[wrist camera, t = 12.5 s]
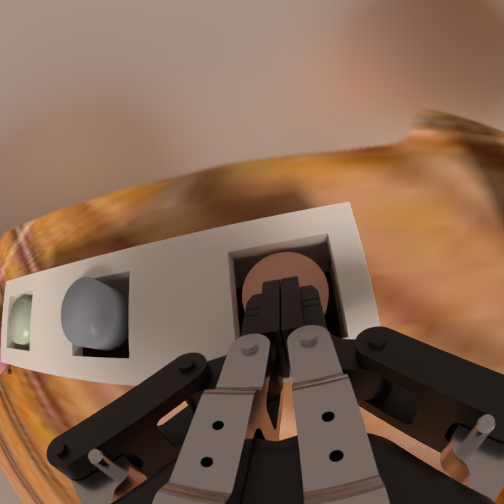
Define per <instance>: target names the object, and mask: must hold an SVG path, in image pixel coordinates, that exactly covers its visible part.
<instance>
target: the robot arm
mask: <svg viewBox="0 0 504 504" xmlns="http://www.w3.org/2000/svg"><path fill="white" fill-rule="evenodd" d="M290 371H291V375H292V382H293V385H292V392H293V400H294V408H295V417H296V425H297V434H298V435H297V436H294V437H291V438H288V439H284V440H281V441H279V431H280V423H281V415H282V406H283V397H284V393H283V378H288V377H290ZM184 401H186V402H187V404H188V406H187V407H185V408H184V409H183V410H182V411H180V412H179V413H178V414H176V415H175V416H174V417H172V418H171V419H170V420H168V421H167V422H166V423H164V424H163V425H160V426H157V423H158V421H159V420H160V419H161V418H162V417H164V416H165V415H166V414H168V413H169V412H170V411H172V410H173V409H174V408H176V407H177V406H178V405H180V404H181V403H182V402H184ZM358 405H359V406H360V407H362V408H364V409H365V410H367V411H368V412H370V413H372V414H373V415H375V416H376V417H378V418H380V419H381V420H383V421H385V422H386V423H388V424H390V425H391V426H393V427H395V428H397V429H398V430H400V431H402V432H404V433H405V434H407V435H409V436H411V437H412V438H414V439H416V440H418V441H420V442H421V443H423V444H425V445H427V446H429V447H431V448H433V449H434V450H436V451H438V452H440V453H441V456H440V463H441V466H442V468H443V470H444V471H445V472H447V473H448V474H449V475H450V476H451V477H452V478H451V477H449V476H447V475H446V474H444V473H442V472H440V471H439V470H437V469H435V468H434V467H432V466H430V465H428V464H427V463H425V462H424V461H422V460H420V459H419V458H417V457H415V456H414V455H412V454H411V453H409V452H407V451H406V450H404V449H403V448H401V447H400V446H398V445H397V444H395V443H394V442H392V441H390V440H388V439H386V438H384V437H381V436H378V435H374V434H369V433H367V432H366V429H365V425H364V422H363V419H362V416H361V413H360V410H359V406H358ZM47 459H48V461H49V463H50V464H51V465H52V466H54V467H55V468H56V469H58V470H59V471H60V472H62V473H63V474H64V475H65V476H66V477H67V478H69V479H70V480H71V482H72V484H73V486H74V488H75V491H76V493H77V495H78V497H79V499H80V501H81V503H82V504H495V503H494V502H495V500H496V498H497V497H498V495H499V493H500V491H501V490H502V488H503V486H504V375H503V374H501V373H498V372H495V371H493V370H490V369H488V368H485V367H483V366H480V365H478V364H475V363H473V362H470V361H468V360H465V359H462V358H460V357H458V356H455V355H453V354H450V353H448V352H445V351H443V350H440V349H438V348H435V347H433V346H430V345H428V344H425V343H423V342H421V341H418V340H416V339H413V338H411V337H409V336H406V335H404V334H401V333H399V332H397V331H394V330H392V329H389V328H386V327H380V326H378V327H371V328H367V329H365V330H363V331H362V332H360V333H359V334H358V336H357V337H356V339H342V338H338V337H336V336H334V335H332V334H331V333H330V332H329V331H328V330H327V327H326V322H325V318H324V313H323V309H322V305H321V301H320V296H319V292H318V290H317V289H316V288H315V287H314V286H312V285H307V286H302V287H300V286H299V280H298V276H293V277H288V278H282V279H281V281H280V279H277V280H271V281H265V282H263V285H262V293H261V294H255V295H252V296H251V298H250V299H249V300H248V301H247V303H246V309H245V314H244V319H243V325H242V330H241V335H240V338H238V339H236V340H235V341H234V342H233V343H232V344H231V346H230V348H229V350H228V353H227V355H225V356H222V357H219V358H216V359H213V360H210V361H207V360H206V358H205V356H203V355H202V354H200V353H195V352H193V353H186V354H183V355H181V356H179V357H177V358H176V359H174V360H173V361H172V362H170V363H169V364H167V365H166V366H164V367H163V368H162V369H160V370H159V371H157V372H156V373H154V374H153V375H152V376H150V377H149V378H147V379H146V380H144V381H143V382H141V383H140V384H139V385H137V386H136V387H134V388H133V389H131V390H130V391H128V392H127V393H125V394H124V395H122V396H121V397H119V398H118V399H116V400H115V401H113V402H112V403H110V404H109V405H107V406H106V407H104V408H102V409H101V410H99V411H98V412H96V413H95V414H93V415H92V416H90V417H88V418H87V419H85V420H84V421H82V422H81V423H79V424H77V425H76V426H74V427H73V428H71V429H69V430H68V431H66V432H64V433H63V434H61V435H59V436H58V437H56V438H55V439H54V440H52V442H51V443H50V444H49V446H48V449H47Z"/></svg>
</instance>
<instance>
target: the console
mask: <svg viewBox="0 0 504 504" xmlns="http://www.w3.org/2000/svg"><path fill="white" fill-rule="evenodd" d="M280 252H294V253H298V254H302V255H304V256H306V257H308V258H310V259H311V260H313V261H314V262H315V263H316V264H317V265H318V266H319V267H320V268H321V270H322V271H323V273H325V272H330V275H331V280H332V285H333V290H334V295H335V301H336V306H337V312H338V318H339V324H340V330H341V336H342V339H356V337H357V336H358V334H359V333H360V332H362V331H363V330H365V329H367V328H371V327H378V326H380V322H379V317H378V312H377V306H376V302H375V297H374V292H373V288H372V283H371V279H370V275H369V270H368V266H367V262H366V258H365V254H364V251H363V247H362V243H361V240H360V236H359V232H358V229H357V226H356V222H355V219H354V216H353V212H352V209H351V206H350V203H349V202H345V203H339V204H334V205H328V206H322V207H317V208H312V209H306V210H301V211H296V212H291V213H285V214H280V215H275V216H270V217H265V218H260V219H255V220H250V221H246V222H241V223H236V224H231V225H227V226H222V227H217V228H213V229H208V230H204V231H199V232H195V233H190V234H186V235H181V236H177V237H173V238H168V239H164V240H160V241H156V242H151V243H147V244H143V245H139V246H135V247H131V248H127V249H123V250H119V251H115V252H111V253H107V254H103V255H99V256H95V257H92V258H88V259H84V260H80V261H76V262H73V263H69V264H65V265H62V266H58V267H55V268H51V269H47V270H44V271H40V272H37V273H33V274H30V275H26V276H23V277H20V278H16V279H13V280H10V281H6V287H5V295H4V303H3V314H2V328H1V362H3V363H7V364H10V365H14V366H17V367H21V368H25V369H29V370H33V371H38V372H42V373H47V374H52V375H57V376H62V377H68V378H74V379H80V380H87V381H94V382H102V383H111V384H121V385H133V386H137V385H139V384H140V383H141V382H143V381H144V380H146V379H147V378H149V377H150V376H152V375H153V374H154V373H156V372H157V371H159V370H160V369H162V368H163V367H164V366H166V365H167V364H169V363H170V362H172V361H173V360H174V359H176V358H177V357H179V356H181V355H183V354H186V353H193V352H195V353H200V354H202V355H203V356H205V358H206V360H207V361H210V360H213V359H216V358H219V357H222V356H225V355H227V353H228V350H229V348H230V346H231V344H232V343H233V342H234V341H235V340H236V339H238V338H240V328H239V317H238V307H237V296H236V288H239V287H243V285H244V282H245V279H246V277H247V275H248V273H249V272H250V270H251V269H252V268H253V267H254V266H255V265H256V264H257V263H258V262H259V261H261V260H262V259H263V258H265V257H267V256H269V255H272V254H275V253H280ZM82 277H90V278H93V279H95V280H97V281H99V282H101V283H104V284H106V285H108V286H110V287H113V288H115V289H117V290H119V291H121V292H122V293H123V294H124V295H125V296H126V297H127V299H128V301H129V358H101V357H83V347H81V346H76V345H74V344H72V343H71V342H70V341H69V340H68V339H67V338H66V336H65V334H64V332H63V329H62V325H61V307H62V302H63V299H64V296H65V294H66V292H67V290H68V289H69V287H70V286H71V285H72V284H73V283H74V282H75V281H76V280H77V279H79V278H82ZM19 298H22V299H25V300H27V301H30V302H32V307H31V321H30V346H26V345H21V344H17V343H15V342H14V341H13V340H12V338H11V335H10V331H9V317H10V312H11V309H12V306H13V304H14V302H15V301H16V300H17V299H19ZM287 381H292V375H291V371H290V377H288V378H283V382H287Z"/></svg>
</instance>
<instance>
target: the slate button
mask: <svg viewBox="0 0 504 504" xmlns="http://www.w3.org/2000/svg"><path fill="white" fill-rule="evenodd" d="M61 325H62V329H63V332H64V334H65V336H66V338H67V339H68V340H69V341H70V342H71V343H72V344H74V345H76V346H81V347H87V348H93V349H100V350H107V351H110V350H115V349H117V348H118V347H120V346H121V345H122V344H123V343H124V342H125V340H126V339H127V337H128V335H129V301H128V299H127V297H126V296H125V295H124V294H123V293H122V292H121V291H119V290H117V289H115V288H113V287H110V286H108V285H106V284H104V283H101V282H99V281H97V280H95V279H93V278H90V277H82V278H79V279H77V280H76V281H75V282H74V283H73V284H72V285H71V286H70V287H69V289H68V290H67V292H66V294H65V296H64V299H63V302H62V307H61Z"/></svg>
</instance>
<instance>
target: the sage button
mask: <svg viewBox="0 0 504 504" xmlns="http://www.w3.org/2000/svg"><path fill="white" fill-rule="evenodd" d="M31 307H32V302H30V301H27V300H25V299H22V298H19V299H17V300H16V301H15V302H14V304H13V306H12V309H11V312H10V317H9V331H10V335H11V338H12V340H13V341H14V342H15V343H17V344H21V345H26V346H30V321H31Z"/></svg>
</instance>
